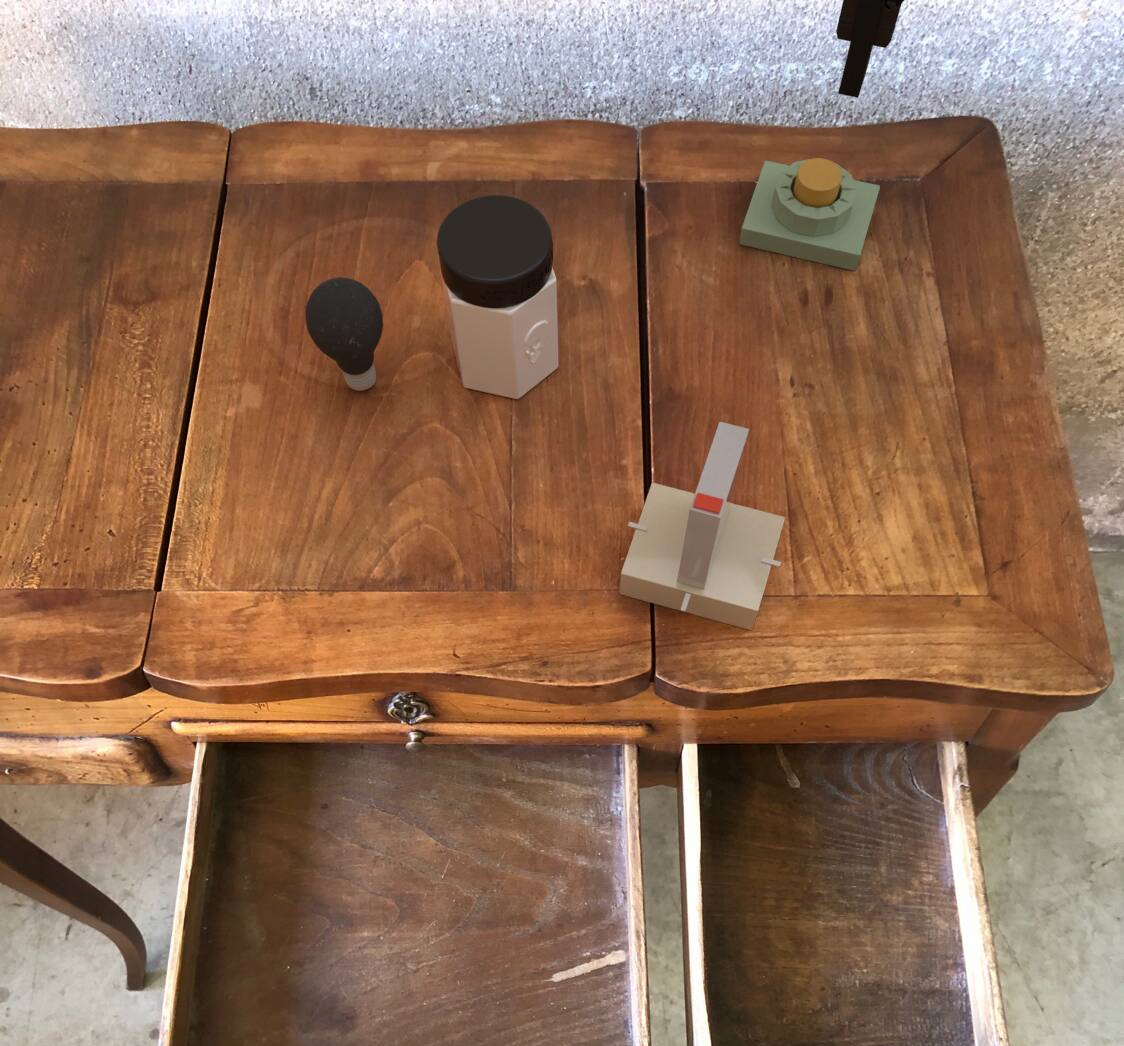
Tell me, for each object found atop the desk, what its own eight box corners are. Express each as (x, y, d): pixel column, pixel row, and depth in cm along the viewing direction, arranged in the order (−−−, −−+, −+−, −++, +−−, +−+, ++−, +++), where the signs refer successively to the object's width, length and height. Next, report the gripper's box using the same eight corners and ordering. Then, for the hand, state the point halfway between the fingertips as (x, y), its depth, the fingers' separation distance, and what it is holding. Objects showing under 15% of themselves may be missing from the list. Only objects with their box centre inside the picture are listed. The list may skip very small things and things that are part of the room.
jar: (499, 419, 82) (486, 304, 71) (430, 359, 84) (407, 240, 73) (580, 354, 84) (580, 233, 73) (511, 298, 87) (501, 172, 75)
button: (841, 181, 86) (846, 163, 85) (831, 213, 85) (836, 194, 84) (798, 172, 87) (803, 153, 85) (788, 203, 86) (792, 185, 84)
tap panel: (790, 523, 79) (799, 499, 76) (754, 652, 75) (761, 632, 72) (647, 486, 80) (650, 461, 77) (604, 610, 76) (605, 589, 73)
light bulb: (313, 386, 84) (280, 291, 74) (364, 345, 85) (338, 246, 76) (361, 425, 82) (333, 334, 73) (412, 383, 84) (391, 287, 74)
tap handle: (703, 500, 76) (719, 418, 67) (730, 508, 76) (750, 426, 67) (676, 581, 74) (689, 507, 65) (704, 589, 73) (721, 515, 65)
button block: (875, 202, 90) (886, 166, 86) (855, 271, 87) (866, 237, 84) (761, 177, 91) (768, 141, 88) (738, 244, 88) (744, 209, 85)
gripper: (821, -334, 53) (751, 100, 75) (1080, -295, 52) (931, 137, 74) (853, -410, 56) (776, 31, 78) (1101, -375, 54) (951, 66, 76)
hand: (852, 82), depth 76 cm, fingers closed
